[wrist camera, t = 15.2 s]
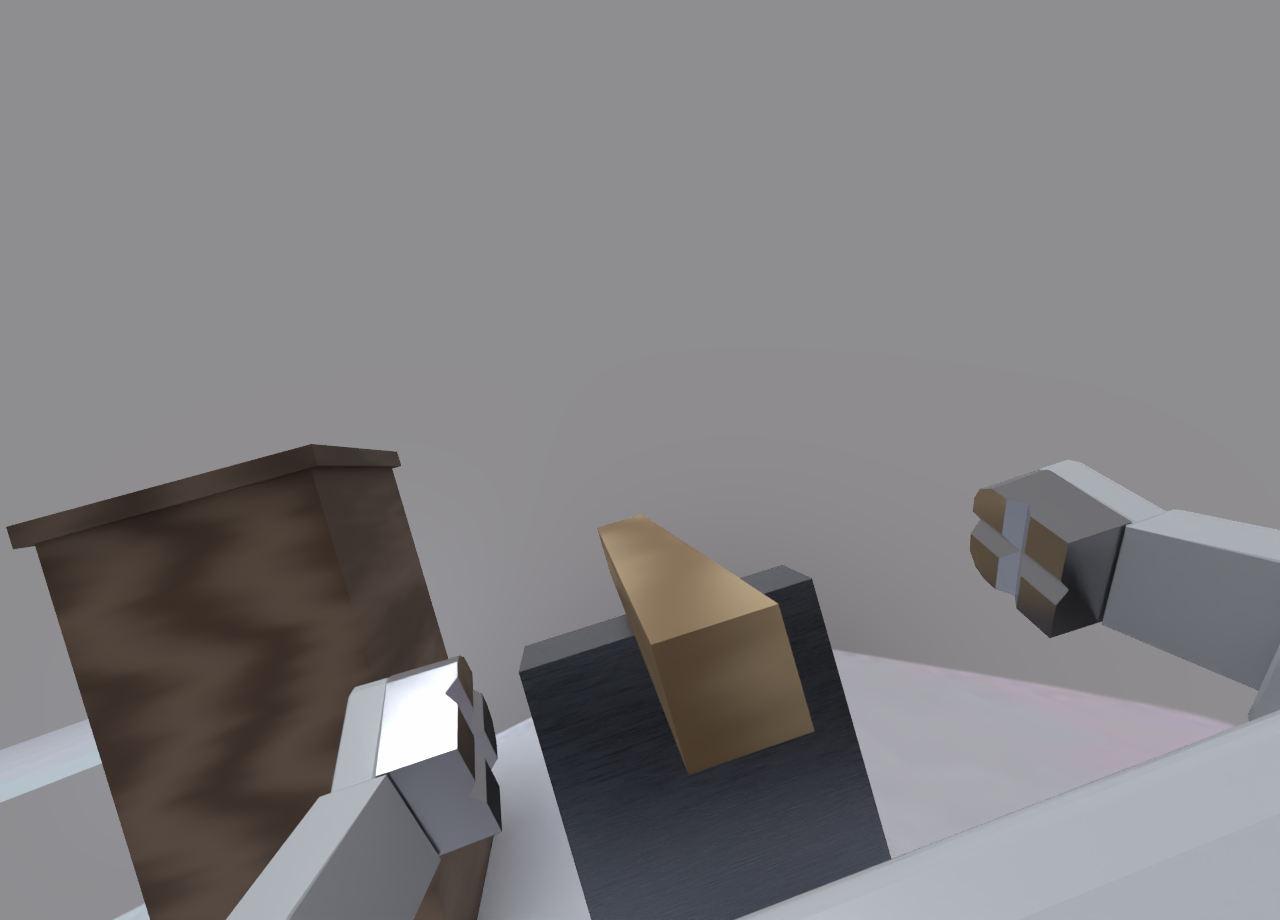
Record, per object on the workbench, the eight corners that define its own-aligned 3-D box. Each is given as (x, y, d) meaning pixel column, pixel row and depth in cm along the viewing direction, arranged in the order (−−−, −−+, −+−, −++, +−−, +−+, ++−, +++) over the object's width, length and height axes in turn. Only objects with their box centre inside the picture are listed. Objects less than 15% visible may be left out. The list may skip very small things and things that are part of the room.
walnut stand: (181, 1095, 29) (6, 526, 28) (313, 880, 44) (200, 506, 43) (473, 986, 30) (311, 444, 30) (504, 814, 45) (396, 451, 44)
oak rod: (688, 774, 12) (651, 644, 11) (610, 573, 33) (597, 527, 33) (814, 731, 12) (778, 604, 12) (654, 559, 34) (642, 514, 34)
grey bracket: (640, 1299, 17) (471, 725, 17) (613, 996, 27) (506, 630, 27) (1041, 1124, 19) (891, 589, 18) (876, 896, 29) (777, 546, 28)
